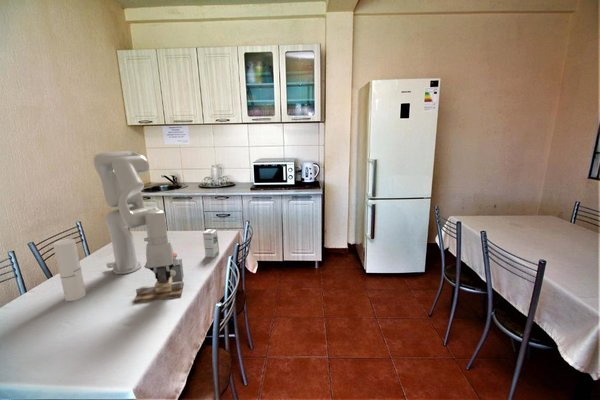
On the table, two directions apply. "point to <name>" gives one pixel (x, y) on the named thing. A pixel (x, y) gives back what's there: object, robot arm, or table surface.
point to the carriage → (163, 281)
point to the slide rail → (150, 293)
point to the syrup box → (211, 243)
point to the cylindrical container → (69, 269)
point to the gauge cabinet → (177, 272)
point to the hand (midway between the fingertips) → (163, 279)
